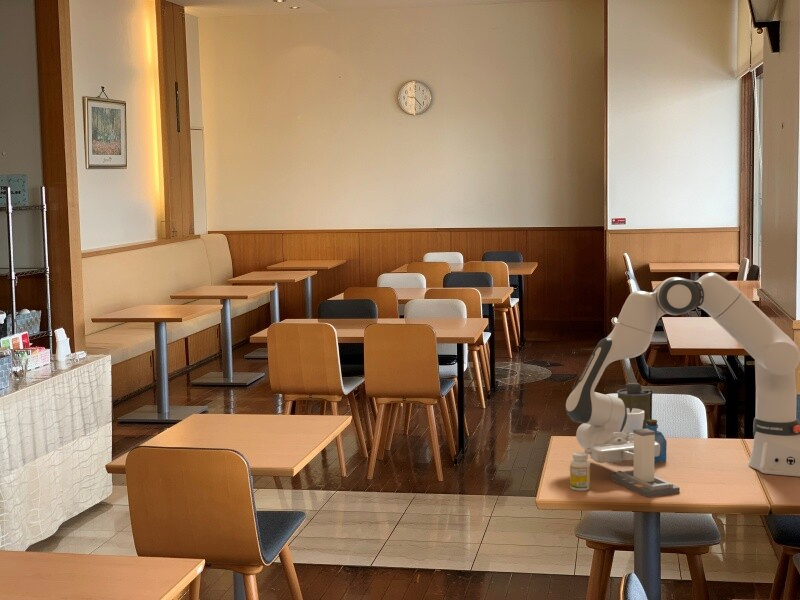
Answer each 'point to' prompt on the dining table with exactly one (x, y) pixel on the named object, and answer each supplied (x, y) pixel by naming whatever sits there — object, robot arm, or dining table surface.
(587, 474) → the supplement bottle
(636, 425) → the foam cup
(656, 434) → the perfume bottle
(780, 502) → the dining table surface
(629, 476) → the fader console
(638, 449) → the cream rectangular block
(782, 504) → the dining table surface
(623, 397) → the canister
